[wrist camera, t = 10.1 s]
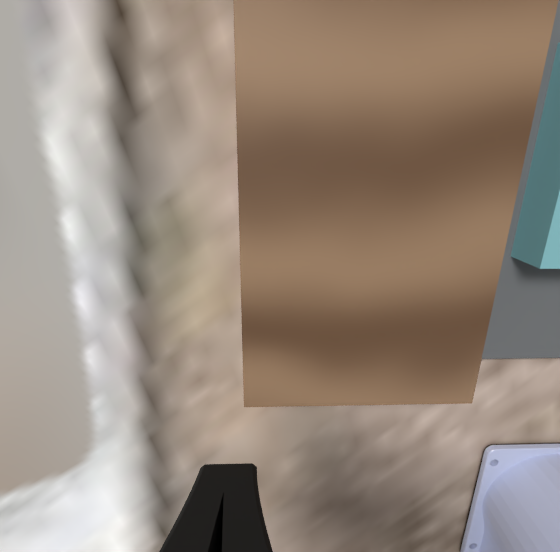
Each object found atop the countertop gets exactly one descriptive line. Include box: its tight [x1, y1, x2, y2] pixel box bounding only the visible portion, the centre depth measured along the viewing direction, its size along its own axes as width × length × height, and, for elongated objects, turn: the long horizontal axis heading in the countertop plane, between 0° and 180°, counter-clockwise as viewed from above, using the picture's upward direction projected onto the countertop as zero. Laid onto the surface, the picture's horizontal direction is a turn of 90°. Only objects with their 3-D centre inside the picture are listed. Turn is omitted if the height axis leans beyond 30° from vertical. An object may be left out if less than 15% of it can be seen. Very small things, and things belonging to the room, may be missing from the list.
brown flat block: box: [234, 0, 559, 407], centre depth 15 cm, size 20×10×4 cm, turn 0°
